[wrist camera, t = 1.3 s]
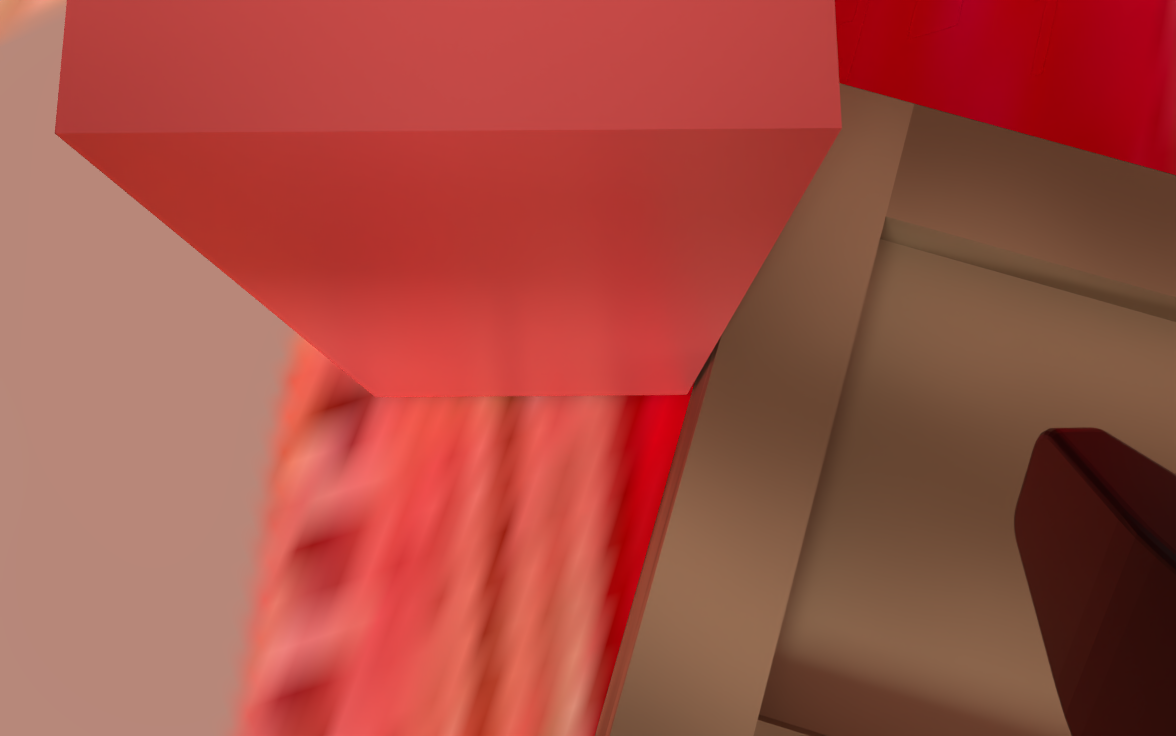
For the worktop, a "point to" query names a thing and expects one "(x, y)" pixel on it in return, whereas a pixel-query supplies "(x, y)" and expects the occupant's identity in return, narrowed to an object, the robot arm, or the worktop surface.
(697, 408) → the walnut base
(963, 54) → the worktop surface
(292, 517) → the worktop surface
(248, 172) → the red brick
